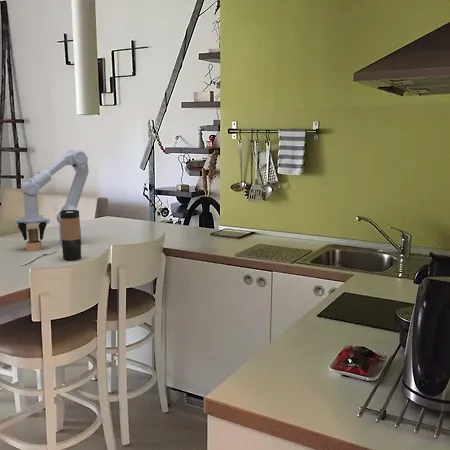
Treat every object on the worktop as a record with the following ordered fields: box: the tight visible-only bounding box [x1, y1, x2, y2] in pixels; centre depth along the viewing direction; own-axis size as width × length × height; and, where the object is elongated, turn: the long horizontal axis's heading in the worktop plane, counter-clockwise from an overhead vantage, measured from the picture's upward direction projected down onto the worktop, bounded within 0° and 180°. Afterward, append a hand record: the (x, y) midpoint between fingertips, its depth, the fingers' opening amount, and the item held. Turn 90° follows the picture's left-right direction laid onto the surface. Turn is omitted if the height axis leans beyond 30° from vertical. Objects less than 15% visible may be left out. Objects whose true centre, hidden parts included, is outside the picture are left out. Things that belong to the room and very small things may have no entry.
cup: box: [25, 239, 43, 252], centre depth 237 cm, size 6×6×4 cm
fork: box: [20, 246, 58, 266], centre depth 223 cm, size 3×24×2 cm, turn 165°
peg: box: [27, 228, 40, 243], centre depth 237 cm, size 4×4×9 cm
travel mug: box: [59, 209, 82, 262], centre depth 220 cm, size 8×8×20 cm
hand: (33, 239), depth 237 cm, fingers open, 6 cm apart
